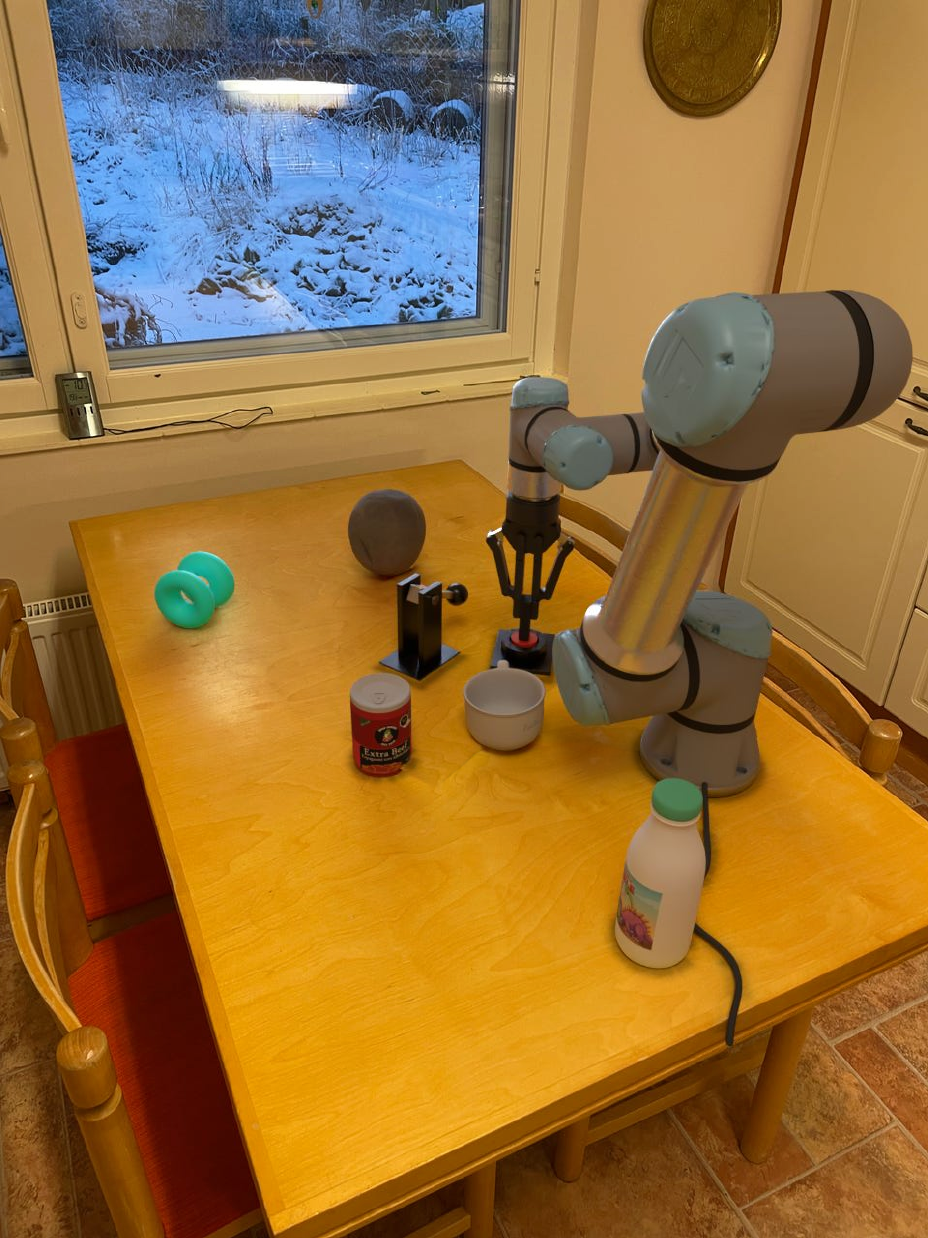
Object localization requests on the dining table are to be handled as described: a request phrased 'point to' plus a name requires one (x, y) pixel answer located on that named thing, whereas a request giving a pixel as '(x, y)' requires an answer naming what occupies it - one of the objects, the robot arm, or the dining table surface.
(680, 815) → the milk bottle
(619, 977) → the dining table surface
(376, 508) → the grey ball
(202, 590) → the teal spool
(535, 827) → the dining table surface
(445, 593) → the lever
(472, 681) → the teacup
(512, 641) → the button
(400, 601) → the black lever stand
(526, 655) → the black button base
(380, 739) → the canned food
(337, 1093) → the dining table surface
